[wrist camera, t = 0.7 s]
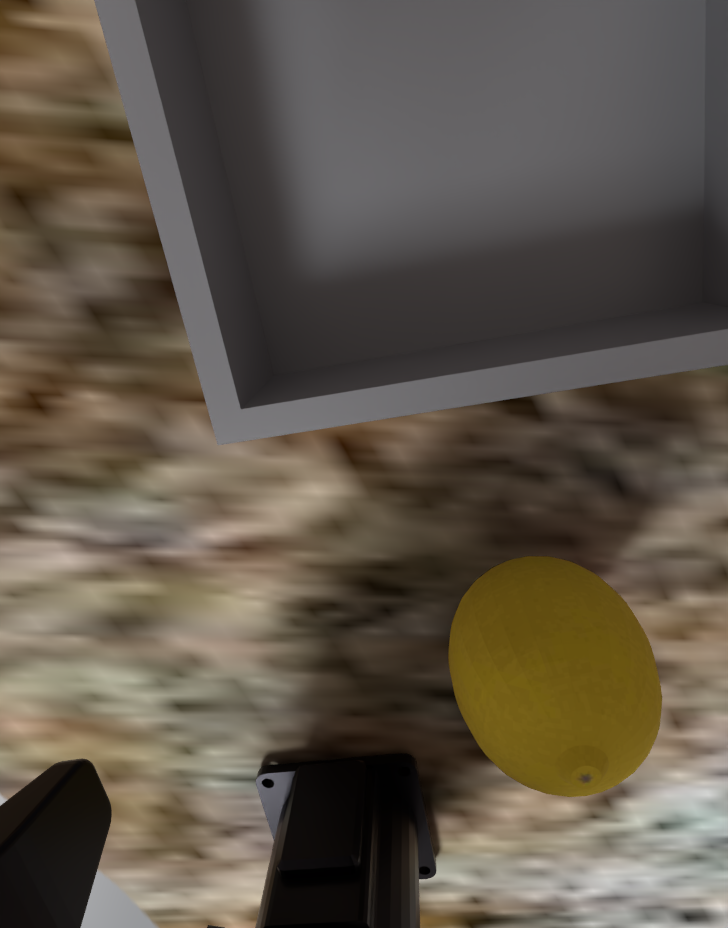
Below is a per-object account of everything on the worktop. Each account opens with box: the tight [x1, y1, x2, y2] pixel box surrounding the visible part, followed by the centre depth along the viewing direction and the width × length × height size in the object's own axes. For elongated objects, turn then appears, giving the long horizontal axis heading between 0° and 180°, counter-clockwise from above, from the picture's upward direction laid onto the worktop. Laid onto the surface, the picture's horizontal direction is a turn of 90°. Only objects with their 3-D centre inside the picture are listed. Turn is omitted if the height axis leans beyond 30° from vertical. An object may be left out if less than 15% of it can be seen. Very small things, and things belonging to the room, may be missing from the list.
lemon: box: [448, 556, 662, 797], centre depth 17 cm, size 6×6×8 cm
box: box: [94, 0, 728, 445], centre depth 14 cm, size 14×14×4 cm
